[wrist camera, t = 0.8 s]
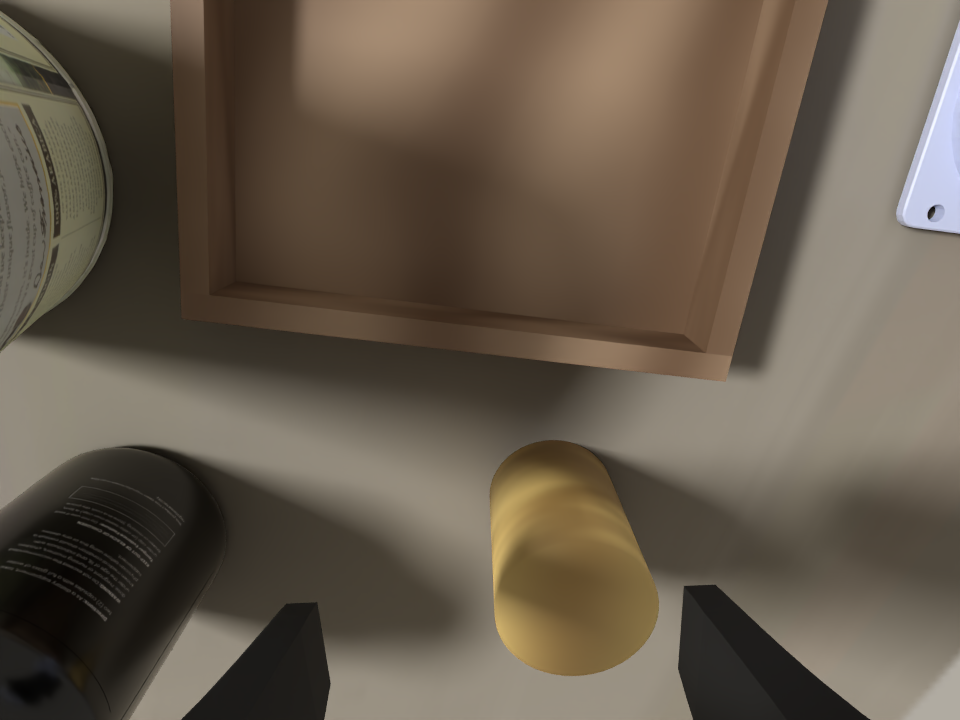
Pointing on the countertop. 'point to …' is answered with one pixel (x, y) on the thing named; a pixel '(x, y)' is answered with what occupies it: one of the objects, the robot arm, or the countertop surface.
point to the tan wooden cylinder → (566, 563)
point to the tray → (486, 170)
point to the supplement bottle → (100, 582)
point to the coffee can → (45, 183)
